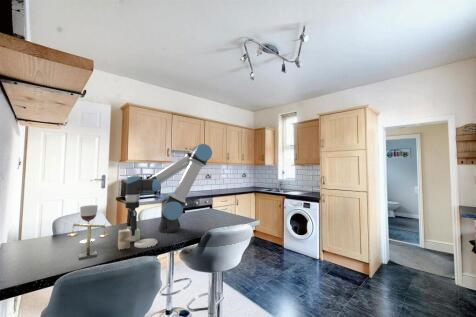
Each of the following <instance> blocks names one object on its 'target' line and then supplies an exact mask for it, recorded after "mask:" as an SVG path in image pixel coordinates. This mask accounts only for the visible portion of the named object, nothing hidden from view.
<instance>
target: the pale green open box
mask: <svg viewBox="0 0 476 317" xmlns="http://www.w3.org/2000/svg"><path fill="white" fill-rule="evenodd" d="M130 229H131V228H130ZM130 229H129V230H130ZM139 240H141V230H140V229H139V227H137V229H136V233H135V241H134V242H136V241H139Z"/></svg>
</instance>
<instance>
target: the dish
mask: <svg viewBox="0 0 476 317" xmlns="http://www.w3.org/2000/svg"><path fill="white" fill-rule="evenodd" d="M158 241H159V240H157V239H156V238H144V239H143V238H142V239H140V240H137V241H134V247H135V248H137V249H146V248H147V247H148V248H151V246H152V247H155V246H157V245H158ZM156 244H157V245H156Z"/></svg>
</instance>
